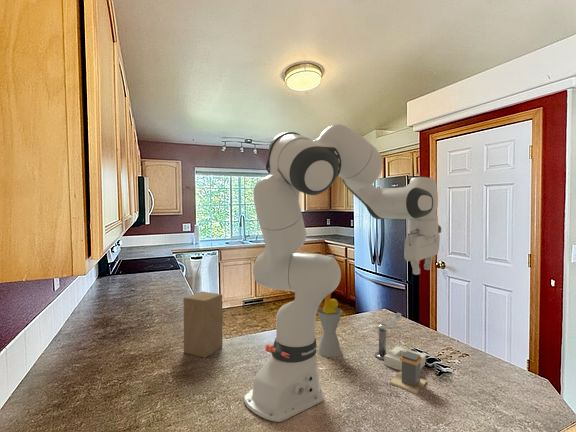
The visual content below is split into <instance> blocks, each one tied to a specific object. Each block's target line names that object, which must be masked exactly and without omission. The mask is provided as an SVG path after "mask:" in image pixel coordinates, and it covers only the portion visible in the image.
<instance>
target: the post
mask: <svg viewBox="0 0 576 432" xmlns="http://www.w3.org/2000/svg"><path fill="white" fill-rule="evenodd" d="M387 353H388V352H387V329H386V330H381V329H378V351H376V352H375V353H374V358H376V359H378V360H381V361H384V356H385V355H386V354H387Z"/></svg>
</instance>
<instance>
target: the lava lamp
mask: <svg viewBox="0 0 576 432" xmlns="http://www.w3.org/2000/svg"><path fill="white" fill-rule="evenodd" d="M325 256H329V257H332V258H334V259H335V256H334V254H326V255H325ZM335 260H336V259H335ZM332 293H333V292H331V293H330V294H328V295H327V296H326V297H325V298H324V305H323V306H322V307H318V309H317V314H318V318H319V321H320V323H321V326H322V329H323V331H322V332H323V333H322V335H321V339H320V342H319V345H318V348H317V353H318V354H319V355H321V356H323V357H326V358H337V357H340V355H342V349H341V345H340V342H339V338H338V335H337V332H336V331H337V328H338V325H339V323H340V321H341V316H342V315H343V310H342V309H341V308H339V307H338V306H339V302H338V300H337V299H335V298H331V296H332Z"/></svg>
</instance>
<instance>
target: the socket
mask: <svg viewBox="0 0 576 432" xmlns="http://www.w3.org/2000/svg"><path fill="white" fill-rule="evenodd" d="M406 351H408V352H412V353H415V354H419V355H421V356H420V357H422V361H421V362H420V371H421V370H422V368H424V366H425V365H426V364H425V362H427V354H423V353H421V352H418V351H414V350H412V349H408V348H405V347H401V346H398V345H395V347H394V348H392V349H391V350H390V351H389V352H386V353H387V354H386V355H385V356H384V360H383V365H384V366H386V367H389V368H393V369H394V370H395V369H396V370H398V371H399V372H400V371H401V372H402V361H400V357H401V356H402V355H403V354H404V353H405V352H406Z"/></svg>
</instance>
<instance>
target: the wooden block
mask: <svg viewBox="0 0 576 432" xmlns="http://www.w3.org/2000/svg"><path fill="white" fill-rule="evenodd" d="M222 347H223V294H222V293H215V292H209V291H199V292H197V293H194V294H191V295H188V296H185V297H183V353H184V354H188V355H192V356H196V357H200V358H203V359H205V358H207V357H209V356H210V355H212V354H214V353H215V352H217V351H218V350H220V349H221V348H222Z"/></svg>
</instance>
